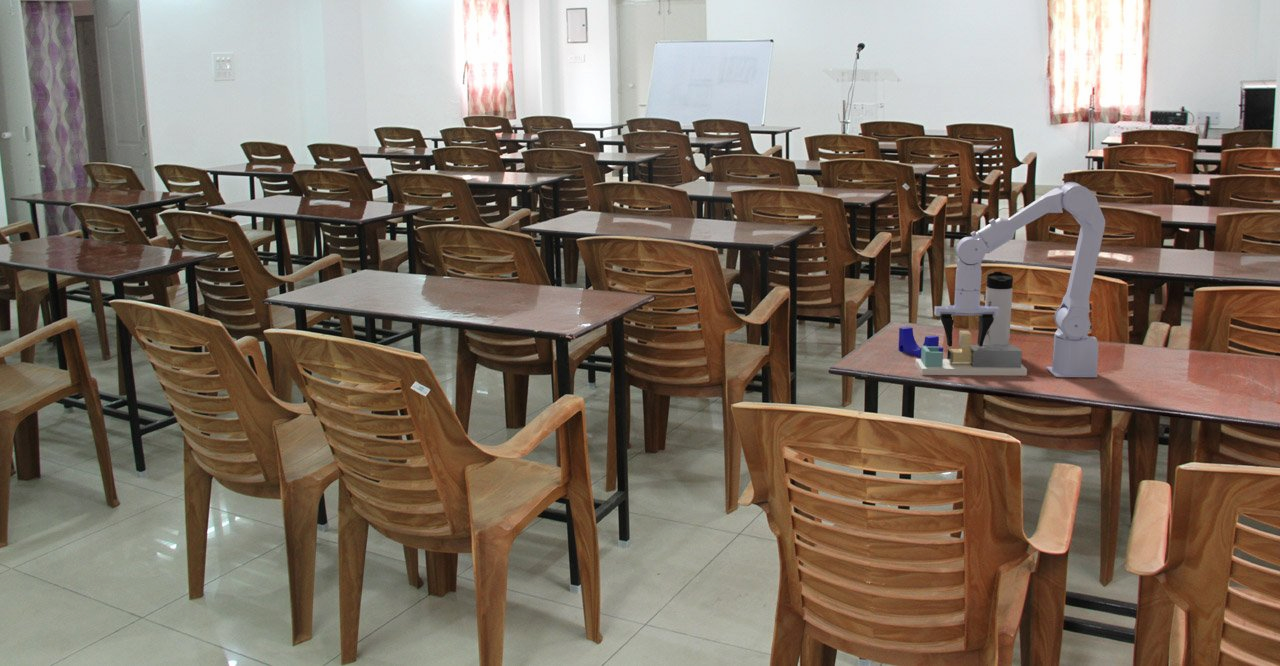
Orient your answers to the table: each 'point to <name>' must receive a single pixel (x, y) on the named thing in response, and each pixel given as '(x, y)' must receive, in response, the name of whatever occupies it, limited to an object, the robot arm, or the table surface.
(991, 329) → the travel mug
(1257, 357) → the table surface
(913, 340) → the blue curved bracket
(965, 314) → the robot arm
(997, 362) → the sleeve
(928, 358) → the socket
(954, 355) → the slide bar
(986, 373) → the base board
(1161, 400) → the table surface
